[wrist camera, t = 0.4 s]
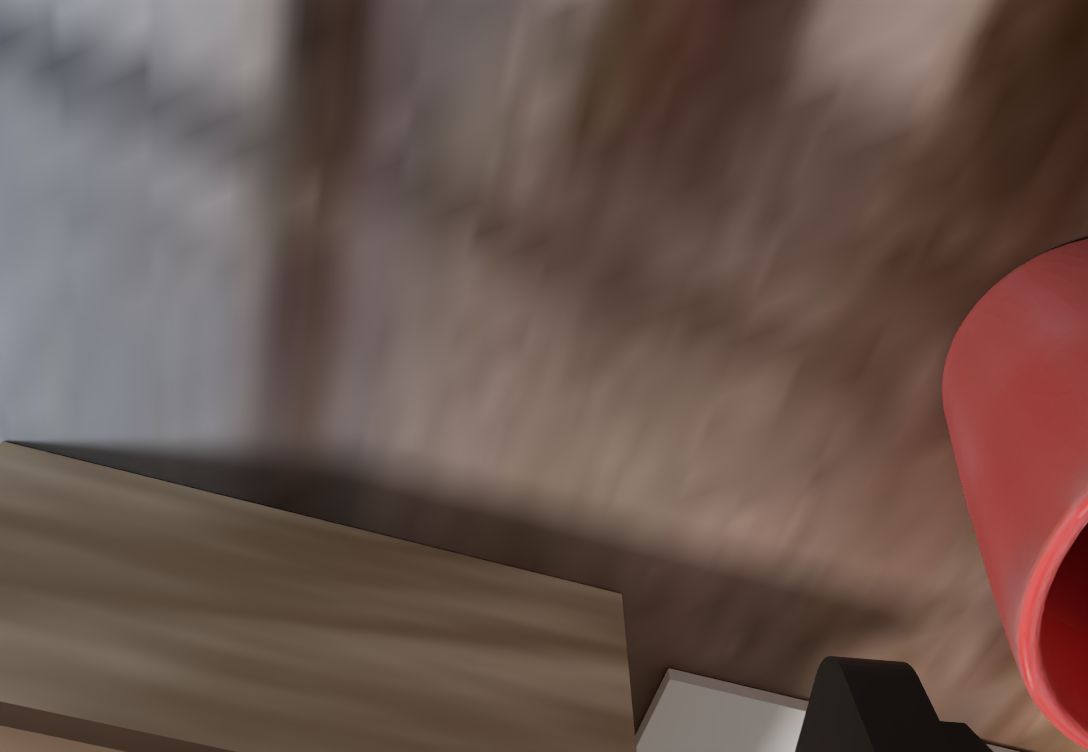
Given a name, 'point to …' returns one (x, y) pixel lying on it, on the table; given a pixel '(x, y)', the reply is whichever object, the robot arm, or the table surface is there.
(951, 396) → the flower pot
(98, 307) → the table surface
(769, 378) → the table surface
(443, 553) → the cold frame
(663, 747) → the grey mat
